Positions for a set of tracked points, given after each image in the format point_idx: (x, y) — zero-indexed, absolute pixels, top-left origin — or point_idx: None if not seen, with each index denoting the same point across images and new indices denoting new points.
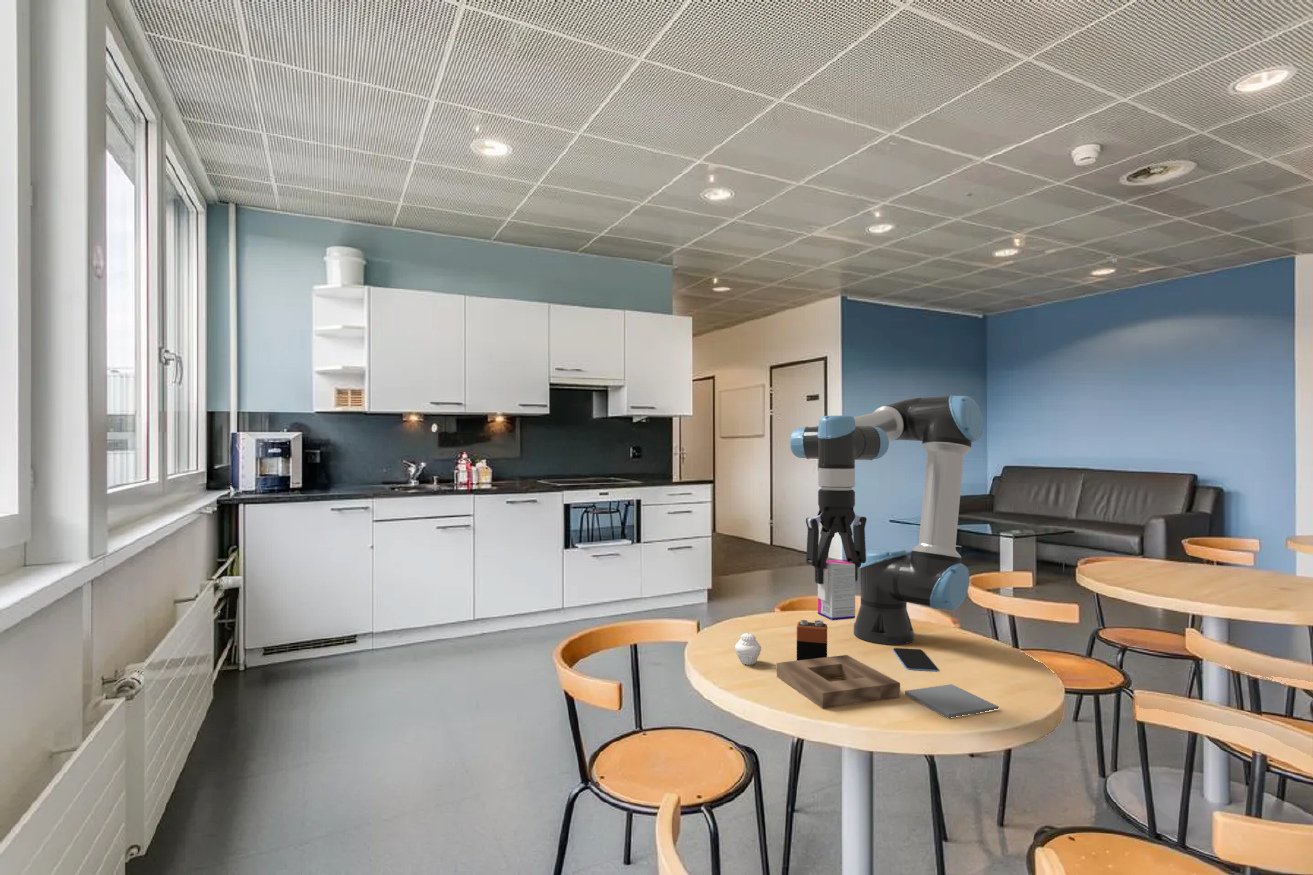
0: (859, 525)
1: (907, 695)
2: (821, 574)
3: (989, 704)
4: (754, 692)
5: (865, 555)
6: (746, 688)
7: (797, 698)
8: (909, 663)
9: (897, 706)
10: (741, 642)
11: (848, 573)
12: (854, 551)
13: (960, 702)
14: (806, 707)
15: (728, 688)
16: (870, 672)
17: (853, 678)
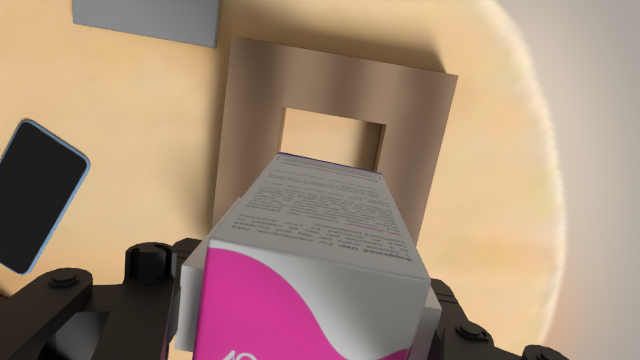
0: None
1: (216, 38)
2: (442, 307)
3: None
4: (510, 216)
5: (12, 299)
6: (509, 242)
7: (452, 147)
8: (62, 181)
9: (285, 4)
10: None
11: (285, 221)
12: (112, 352)
13: None
14: (472, 99)
15: (543, 259)
16: (246, 125)
17: (278, 152)
